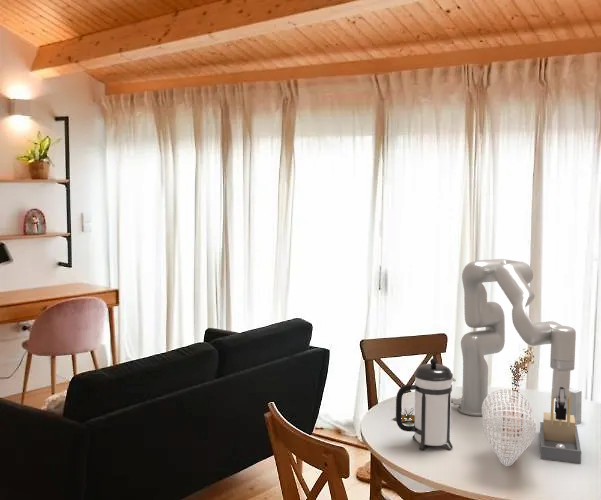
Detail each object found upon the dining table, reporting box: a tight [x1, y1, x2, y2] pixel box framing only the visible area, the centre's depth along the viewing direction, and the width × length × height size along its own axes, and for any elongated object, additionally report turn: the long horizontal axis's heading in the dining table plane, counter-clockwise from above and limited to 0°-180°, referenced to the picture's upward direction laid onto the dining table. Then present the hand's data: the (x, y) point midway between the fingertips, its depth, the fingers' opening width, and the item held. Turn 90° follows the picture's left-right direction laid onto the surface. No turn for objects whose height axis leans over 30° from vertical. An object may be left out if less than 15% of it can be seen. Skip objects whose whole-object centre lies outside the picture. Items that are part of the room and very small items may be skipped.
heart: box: [481, 388, 537, 467], centre depth 213 cm, size 28×16×22 cm, turn 167°
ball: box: [555, 443, 566, 448], centre depth 221 cm, size 3×3×3 cm
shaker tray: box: [539, 411, 582, 465], centre depth 229 cm, size 12×24×8 cm, turn 161°
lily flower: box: [392, 408, 415, 426], centre depth 255 cm, size 12×12×5 cm
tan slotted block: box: [550, 391, 571, 427], centre depth 227 cm, size 6×6×11 cm
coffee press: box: [395, 357, 457, 452], centre depth 230 cm, size 17×16×30 cm
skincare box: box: [566, 387, 583, 425], centre depth 253 cm, size 6×4×12 cm
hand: (560, 415), depth 227 cm, fingers closed on tan slotted block, 5 cm apart
